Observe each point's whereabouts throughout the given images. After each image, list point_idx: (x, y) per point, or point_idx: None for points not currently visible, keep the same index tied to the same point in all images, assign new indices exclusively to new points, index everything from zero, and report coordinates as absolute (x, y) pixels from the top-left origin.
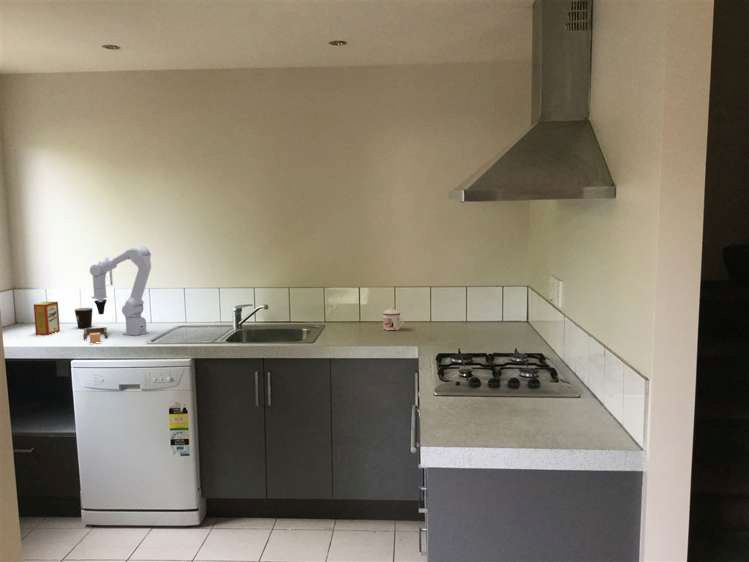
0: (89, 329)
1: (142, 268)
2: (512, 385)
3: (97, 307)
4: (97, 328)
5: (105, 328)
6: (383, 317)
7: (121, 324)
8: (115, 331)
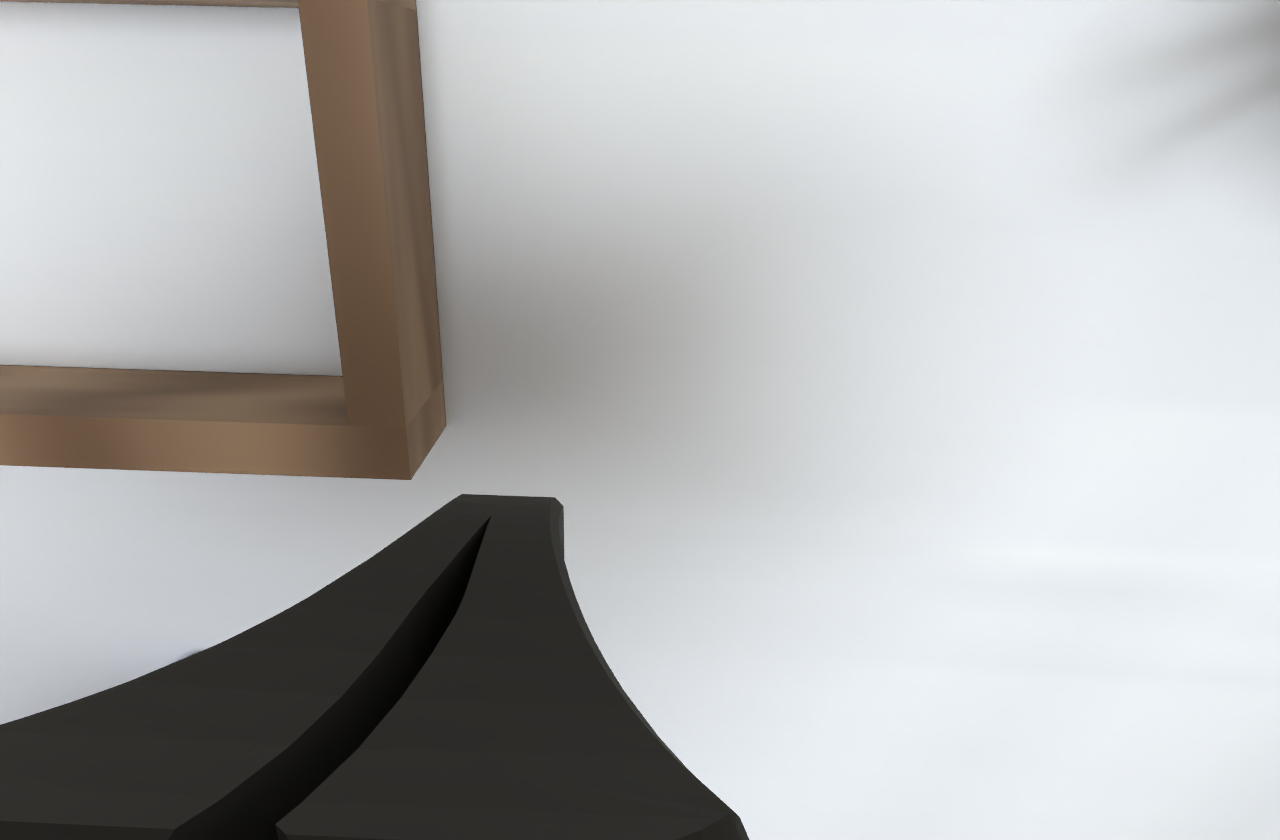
0: (312, 76)
1: None
2: None
3: (248, 637)
4: (333, 280)
5: (254, 450)
6: None
7: (1251, 705)
8: None
